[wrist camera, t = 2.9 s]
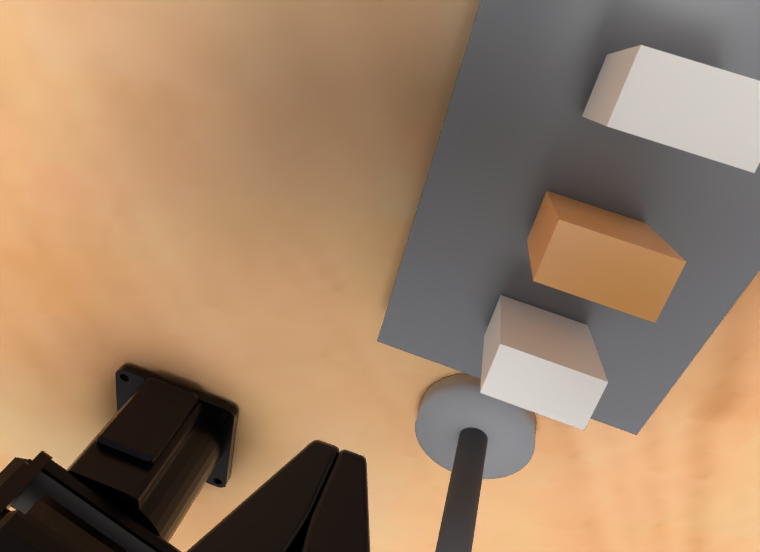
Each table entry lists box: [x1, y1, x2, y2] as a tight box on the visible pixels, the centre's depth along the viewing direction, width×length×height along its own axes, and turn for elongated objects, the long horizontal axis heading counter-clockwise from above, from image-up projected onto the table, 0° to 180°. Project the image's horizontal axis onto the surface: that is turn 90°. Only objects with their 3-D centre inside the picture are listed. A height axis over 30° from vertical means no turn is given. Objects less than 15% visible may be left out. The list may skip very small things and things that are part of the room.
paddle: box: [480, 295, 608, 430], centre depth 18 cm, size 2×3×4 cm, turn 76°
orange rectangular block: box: [527, 191, 686, 323], centre depth 16 cm, size 2×3×4 cm, turn 76°
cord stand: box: [415, 373, 536, 552], centre depth 22 cm, size 5×5×10 cm
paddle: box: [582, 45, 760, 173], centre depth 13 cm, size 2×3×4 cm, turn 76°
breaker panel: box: [377, 0, 760, 435], centre depth 19 cm, size 14×10×2 cm
